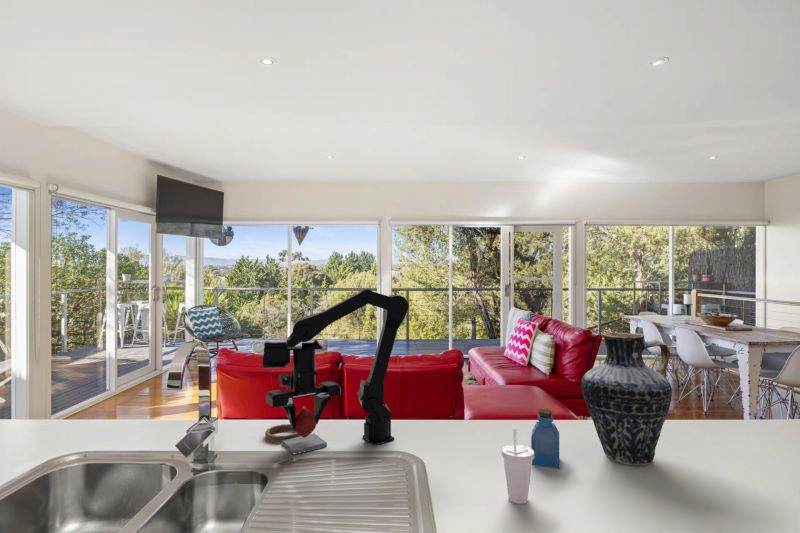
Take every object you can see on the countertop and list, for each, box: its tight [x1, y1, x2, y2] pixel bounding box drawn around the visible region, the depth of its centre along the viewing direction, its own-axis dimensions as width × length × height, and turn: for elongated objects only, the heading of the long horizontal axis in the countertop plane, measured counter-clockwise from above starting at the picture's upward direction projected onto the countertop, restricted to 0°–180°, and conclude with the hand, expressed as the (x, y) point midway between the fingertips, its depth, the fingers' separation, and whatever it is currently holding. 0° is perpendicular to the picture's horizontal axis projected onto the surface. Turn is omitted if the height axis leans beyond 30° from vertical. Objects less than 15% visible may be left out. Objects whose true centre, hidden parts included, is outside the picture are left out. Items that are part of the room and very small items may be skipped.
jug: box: [581, 331, 673, 466], centre depth 109 cm, size 21×19×30 cm
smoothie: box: [501, 427, 534, 505], centre depth 90 cm, size 6×6×14 cm
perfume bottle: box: [530, 408, 560, 470], centre depth 107 cm, size 6×6×12 cm
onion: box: [294, 406, 317, 438], centre depth 118 cm, size 6×6×8 cm
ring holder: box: [264, 423, 301, 444], centre depth 125 cm, size 10×10×2 cm
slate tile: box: [282, 432, 328, 454], centre depth 118 cm, size 9×8×1 cm
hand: (304, 426), depth 118 cm, fingers closed on onion, 6 cm apart
